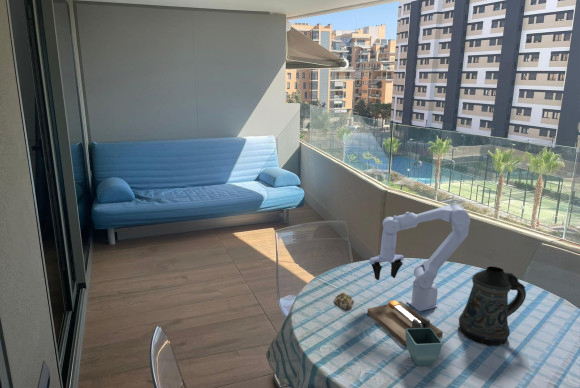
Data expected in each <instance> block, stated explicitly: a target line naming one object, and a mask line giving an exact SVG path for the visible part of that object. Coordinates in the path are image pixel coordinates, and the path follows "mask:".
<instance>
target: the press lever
mask: <svg viewBox="0 0 580 388" xmlns="http://www.w3.org/2000/svg"><path fill="white" fill-rule="evenodd" d="M398 302H399V301H397V300H396V299H393V300H390V301H388V302H387V303H388V306H389V307H390V308H391V309H394V310H396V311H397V312H398V313H399V314H401V315H402V316H403V317H404V318H405V319H407V320H408V321H409V322H410V323H411V324H412V320H413V319H416V318H415V317H414V316H413V315H411V314H410V313H409V312H408V311H406V310H405V309H404V308H402V307H401V306H400V304H399V303H398ZM416 320H417V321H419V320H418V319H416ZM419 322H420V321H419ZM420 323H421V322H420ZM420 328H425V325H424V323H421V326H420Z"/></svg>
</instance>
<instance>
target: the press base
mask: <svg viewBox="0 0 580 388" xmlns="http://www.w3.org/2000/svg"><path fill="white" fill-rule="evenodd" d="M397 302H398V303H399V304H400V306H401V307H402V308H404V309H405V310H406V311H408V312H409V313H410V314H411V315H413V316H414V317H415V318H416V319H418V320H419V321H420V322H421V323H424V325H425V328H431V329H432V330H433V331H434V333H435V334H436V335H437V337H438V338H439V339H440V338H442V337H443V334H444V332H443V331H442V330H441V329H439V328H438V327H437V326H436V325H434V324H433V323H431V321H430V319H428V318H427V317H425V316H422V315H420V314H419V313H417V312H416V311H415V310H413V308H411V307H410V306H408V305H407V304H405V303H404V302H403V301H401V300H400V301H397ZM366 310H367V311H366V312H367V313H366V314H367V315H369V316H370V317H371V318H372V319H373V320H374V321H375V322H376V323H378V324H379V325H380V326H381V327H382V328H383V329H384V330H385V331H387V332H388V333H389V334H390V335H391V336H392V337H393V338H395V339H396V340H397V341H398V342H399V343H400V344H402V345H403V346H404V347H405V348H407V345H406V332H405V329H413V328H420V326H421V323H420V322H419V321H417V320H416V319H413V320H412V324H411V323H410V322H409V321H408V320H407V319H405V318H404V317H403V316H402V315H401V314H399V313H398V312H397V311H396V310H394V309H391V308H390V307H389V306H388V304H382V305H379V306H374V307H370V308H369V307H368V308H367V309H366Z"/></svg>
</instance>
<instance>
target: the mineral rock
mask: <svg viewBox="0 0 580 388" xmlns="http://www.w3.org/2000/svg"><path fill="white" fill-rule="evenodd" d="M333 302H334V303H335V304H336V305H337V306H338V307H339V308H340V309H344V310H348V311H350V309H351V310H352V307H353V306H352V304H355V303H354V302H355V301H354V299H352V296H350V295H348V294H346V293H345V292H341V293H339V294H337V296H336V297H335V298H334V300H333Z"/></svg>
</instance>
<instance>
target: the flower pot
mask: <svg viewBox="0 0 580 388" xmlns="http://www.w3.org/2000/svg"><path fill="white" fill-rule="evenodd" d="M405 332H406V345H407V347H406V348H407V351H408V353H409V355H410V357H411V359H412V360H413V363H415V365H416V366H431V365H433V364H434V363H436V362H437V361H438V359H439V357H440V354H441V350H442V348H443V347H442V346H443V341H442V340H441V339H440V338H438V337H437V335H436V334H435V333H434V331H433V330H432V329H431V328H413V329H405Z"/></svg>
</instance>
